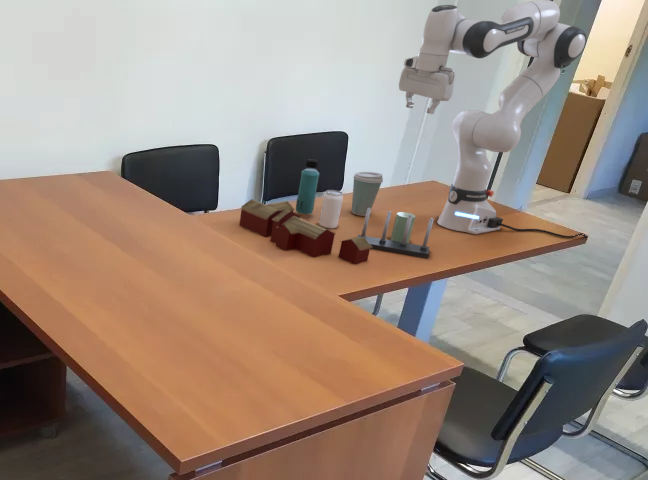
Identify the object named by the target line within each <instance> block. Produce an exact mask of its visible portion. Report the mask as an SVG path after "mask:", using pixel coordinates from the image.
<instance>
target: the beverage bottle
mask: <svg viewBox="0 0 648 480" xmlns="http://www.w3.org/2000/svg"><path fill="white" fill-rule="evenodd" d="M318 166H319V161H318V160H317V159H313V158H312V159H311V158H309V159H307V160H306V162H305V167H307V168H305V169H303V170H302V171H301V176H300V180H299V187H298V192H297V193H298V194H297V197H296V203H295V212H296V213H297V214H301V215H311V214H313V212H314V208H315V201H316V196H317V189H318V183H319V177H320V172H319V171H318V170H317V169H316V168H319V167H318Z"/></svg>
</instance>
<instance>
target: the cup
mask: <svg viewBox="0 0 648 480" xmlns="http://www.w3.org/2000/svg"><path fill="white" fill-rule="evenodd" d="M409 215H412V220H411V224H410V228H409V231H408V235H407V239H406V243H410V240H411V236H412V232H413V230H414V229H413V228H414V225H415V221H416V215H415V214H413V213H411V212H406V211H405V212H403V211H398V212H396V214H395V217H394V222H393V227H392V230H391V235H390V239H389V240H392V241H398V242H402V239H403V235H404V231H405V228H406V224H407V220H408V216H409Z"/></svg>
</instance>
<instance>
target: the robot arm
mask: <svg viewBox="0 0 648 480" xmlns="http://www.w3.org/2000/svg"><path fill="white" fill-rule="evenodd" d="M560 18H561V9H560V7H559V4H557V2H555V1H553V0H528V1H524V2H520V3H517V4H514V5H512V6H510V7H508V8H506V9H505V11H504V12H503V14H502V15H501V18H500V20H499V23H497V22H495V21H491V20H478V19H472V18H471V19H470V18H467V17H466V16H464V15H463V14H462V13H461V12H460V11H459V8H458V6H457V5H454V4H442V5H441V4H440V5H437V6H434V7H433V8H431V10H430V11H429V13H428V15H427V18H426V20H425V25H424V27H423V32H422V36H421V40H422V41H421V46H420V48H419V50H418V53H417V55H416V56H412V57H408V58H405V59H404V61H403V66H404V67H403V69H402V71H401V72H400V77H399V81H398V89H399V91H401V92H404V93H405V101H406V104H405V107H406V108H407V109H413V108H414V105H415V102H414V101H413V97H414V96H415V95H416V96H421V97H424V98H428V99H431V103H432V104H430V107H427V108H426V114H429V115H434V114H435V111H436V108H438V106H439V105H440V104H441V102H449V101H450V100H451V98H452V96H453V92H454V87H455V77H456V73H455V70H454V69H453V68H452V67H446V66H447V63H448V58H449V54H450V53H455V54H458V55H465V56H469V57H472V58H476V59H485V58H486V57H488V56H490V55H491V54H493V53H494V52H495V51H497V50H498V49H500V48H502V47H505V46H509V45H512V44H514V43H516V45H517V50H518V52H519V53H521V55H523V56H526V57H532V58H533V60H532V62H531V64H530V65H529V66H528V67H527V68H525V69H524V70H523V71H522V72H521V73H520V74H518V75H517V76H516V77H515V78H514V79H513V80H512V82H510V83H509V84H508V85H507V86H506V87H505V88H504V89H503V90H502V91H501V92H500V93H499V96H498V100H497V101H498V107H499V108H498V109H497V110H496V111H495V112H493V113H488V112H485V111H481V110H478V109H477V110H476V109H471V110H470V109H469V110H462V111H461V112H459V113H458V114H457V115H456V116H455V118H454V119H453V121H452V125H451V133H452V135H453V138H454V139H455V142H456V146H457V164H456V169H455V174H454V177H453V181H452V183H451V184H450V187H449V190H448V197H447V198H446V202H445V204H444V206H443V209H442V210H441V211H442V212H441V213H440V214H439V217H438V219H437V221H436V223H437V224H438V225H439V226H441V227H442V228H446V229H448V230H452V231H458V232H463V233H468V234H473V235H478V234H484V233H489V232H494V231H500V230H501V227H503V228H506V229H510V230H513V231H517V232H540V233H544V234H548V235H552V236H555V237H558V238H559V237H560V238H566V239H573V238H576V237H579V236H582V237H584V238H585V239H588V236H587V235H586V234H585V233H583V232H579V233H580V234H579V233H577V234H578V235H579V236H578V235H577V234H574V235H575V236H573V235H565V234H560V233H556V232H553V231H549V230H545V229H540V228H517V227H514V226H511V225H507V224H505V223H503V221H504V218H502V217H499V216H497V211H496V209H495V208H494V207H493V206H492V204H491V203H489V201H488V200H487V198H488V197H490V198H492V197H493V196H494V194H495V191H493V190H491V189H488V190H487V185H488V182H489V179H490V175H491V173H492V164H491V162H490V160H489V158H488V156H487V151H489V152H493V153H508V152H510V151H512V150H513V149H515V147H516V146H517V145H518V144H519V143H520V140H521V136H522V128H521V124H522V121H524V120H523V119H524V118H525V117H526V116H527V114H528V113H529V112H530V111H531V110H532V109H533V108H534V107H535V106H536V105H537V104H538V103H539V102H540V101H541V100H542V99H543V98H544V97H545V96H546V95H547V94H548V93H549V91H550V90H552V88H553V87H554V85H555V84H556V82H557V81H558V80H559V78H560V76H561V69H564V68H567V67H568V66H570V65H571V64H572V63H573V62H574V61H576V60H577V59H578V58H579V57H580V56H581V54H582V53H583V52H584V50H585V48H586V46H587V33H586V31H585V30H584V29H583V28H580V27H579V26H575V25H569V24H566V23H561V22H559V20H560ZM582 234H584V235H582ZM585 235H586V236H585Z"/></svg>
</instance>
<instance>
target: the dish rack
mask: <svg viewBox="0 0 648 480" xmlns="http://www.w3.org/2000/svg"><path fill="white" fill-rule="evenodd" d="M371 211H372V209H370V208H368V209H367V212H366V216H364V222H363V226H362V230H361V234H357V237H356V238H358V237H364V238H365V239H366V240H367V241H368V243H369V244H370V245H371V246H372V247H373V248H372V247H370V250H371V249H372V250H376V251H377V250H378V251H382V252H383V251H384V252H388V253H393V254H400V255H406V256H410V257H411V256H412V257H416V258H417V257H418V258H423V259H429V255H430V246H428V242H429V238H430V234H431V231H432V227H433V223H434V217H430V218H429V221H428V223H427V228H426V231H425V235H424V239H423V241H422V245H420V244H415V243H410V242H409V243H406V239H407V235H408V231H409V228H410V224H411V220H412V215H409V216H408V220H407V224H406V228H405V231H404V235H403V239H402V242H398V241H392V240H391V239H387V235H388V229H389V225H390V221H391V217H392V211H390V210H389V211H387V214H386V218H385V222H384V225H383V230H382V235H381V238H380V237H374V236H368V235H366V233H367V228H368V224H369V220H370V215H371ZM370 245H369V246H370Z"/></svg>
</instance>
